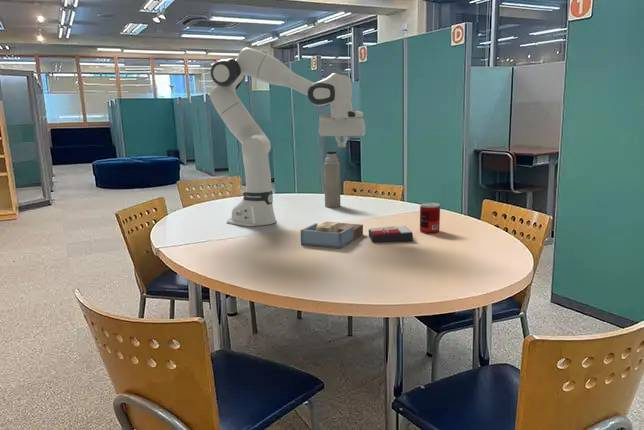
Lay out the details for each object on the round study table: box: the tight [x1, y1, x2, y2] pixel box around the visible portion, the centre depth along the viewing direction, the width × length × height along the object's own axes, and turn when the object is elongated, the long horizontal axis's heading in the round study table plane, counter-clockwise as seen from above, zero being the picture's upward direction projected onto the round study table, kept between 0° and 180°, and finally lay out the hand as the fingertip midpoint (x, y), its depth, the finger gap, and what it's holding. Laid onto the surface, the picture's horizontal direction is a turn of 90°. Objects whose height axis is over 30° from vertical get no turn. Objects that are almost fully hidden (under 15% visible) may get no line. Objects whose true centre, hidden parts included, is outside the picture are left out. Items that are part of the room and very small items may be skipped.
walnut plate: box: [317, 221, 364, 242], centre depth 195 cm, size 16×10×4 cm, turn 64°
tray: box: [300, 222, 354, 249], centre depth 185 cm, size 16×12×6 cm
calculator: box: [368, 225, 414, 244], centre depth 189 cm, size 11×4×15 cm
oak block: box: [316, 221, 339, 233], centre depth 185 cm, size 5×6×9 cm
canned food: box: [419, 202, 441, 235], centre depth 198 cm, size 8×8×11 cm
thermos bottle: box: [323, 151, 341, 209], centre depth 253 cm, size 8×8×28 cm
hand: (341, 147), depth 209 cm, fingers closed
